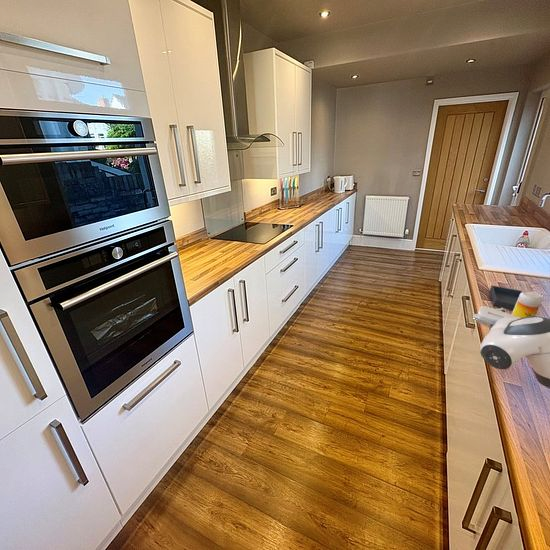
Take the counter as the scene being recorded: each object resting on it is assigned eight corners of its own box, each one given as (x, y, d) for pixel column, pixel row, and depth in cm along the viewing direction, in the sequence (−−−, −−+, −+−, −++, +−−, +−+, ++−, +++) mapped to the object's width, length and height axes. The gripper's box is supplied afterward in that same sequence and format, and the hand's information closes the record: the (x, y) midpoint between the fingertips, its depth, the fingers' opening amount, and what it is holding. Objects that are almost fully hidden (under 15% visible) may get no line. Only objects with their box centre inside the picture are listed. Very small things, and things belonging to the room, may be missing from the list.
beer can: (526, 337, 102) (543, 300, 96) (505, 330, 106) (520, 294, 99) (527, 329, 106) (544, 293, 100) (507, 323, 110) (522, 288, 103)
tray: (519, 297, 128) (522, 290, 126) (526, 313, 116) (529, 307, 114) (489, 291, 133) (491, 285, 131) (493, 306, 121) (495, 300, 119)
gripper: (467, 326, 93) (480, 311, 102) (550, 358, 80) (558, 338, 88) (473, 310, 91) (486, 295, 99) (560, 340, 77) (566, 320, 85)
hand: (520, 315), depth 94 cm, fingers open, 8 cm apart
